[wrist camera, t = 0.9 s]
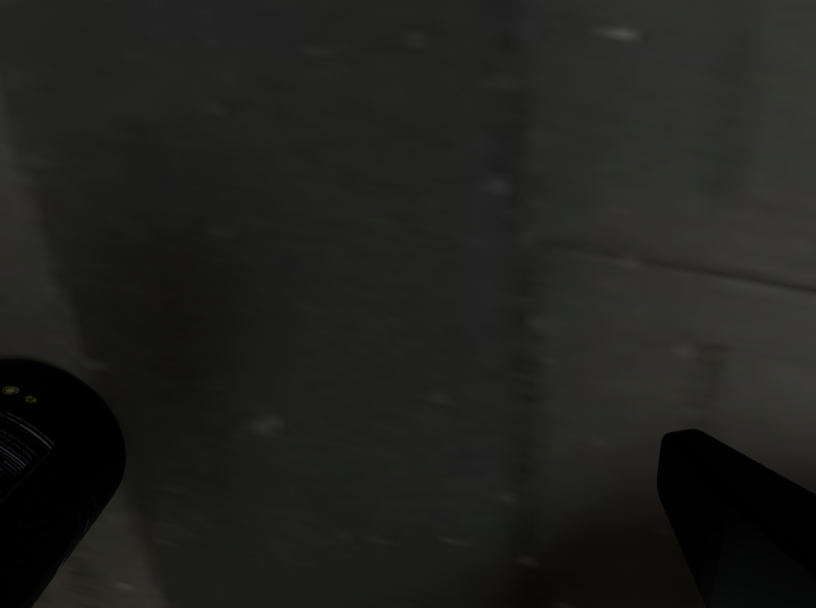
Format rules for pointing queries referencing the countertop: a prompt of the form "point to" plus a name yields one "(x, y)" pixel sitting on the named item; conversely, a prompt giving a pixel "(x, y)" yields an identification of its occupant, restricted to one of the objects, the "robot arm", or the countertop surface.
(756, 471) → the robot arm
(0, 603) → the supplement bottle
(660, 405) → the countertop surface
